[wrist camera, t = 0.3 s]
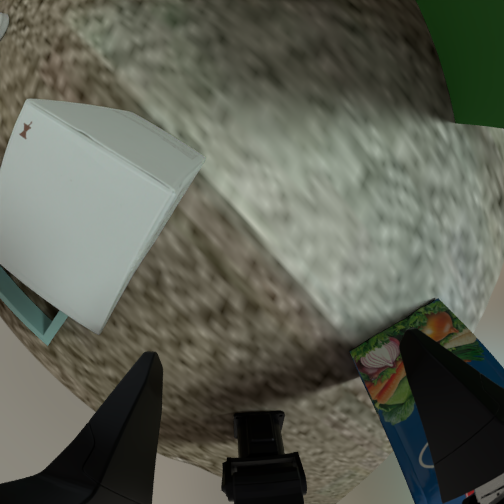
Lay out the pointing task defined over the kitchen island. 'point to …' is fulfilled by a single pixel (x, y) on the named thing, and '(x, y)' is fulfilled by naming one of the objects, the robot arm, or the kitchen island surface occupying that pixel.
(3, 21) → the rook chess piece
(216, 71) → the kitchen island surface
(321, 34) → the kitchen island surface
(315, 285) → the kitchen island surface
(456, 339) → the blue food package
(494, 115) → the hardback book
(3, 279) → the teal rectangular open frame
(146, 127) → the supplement box
